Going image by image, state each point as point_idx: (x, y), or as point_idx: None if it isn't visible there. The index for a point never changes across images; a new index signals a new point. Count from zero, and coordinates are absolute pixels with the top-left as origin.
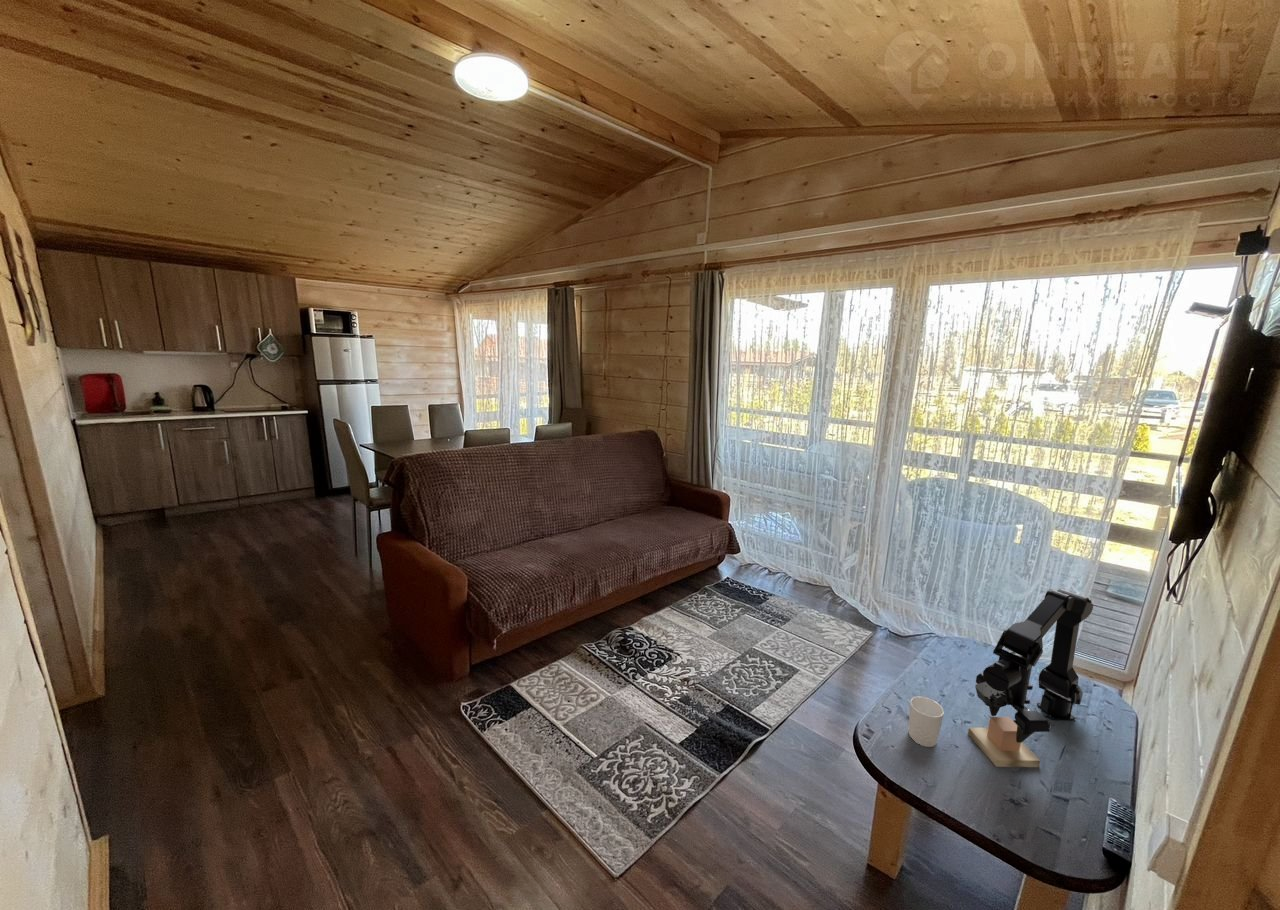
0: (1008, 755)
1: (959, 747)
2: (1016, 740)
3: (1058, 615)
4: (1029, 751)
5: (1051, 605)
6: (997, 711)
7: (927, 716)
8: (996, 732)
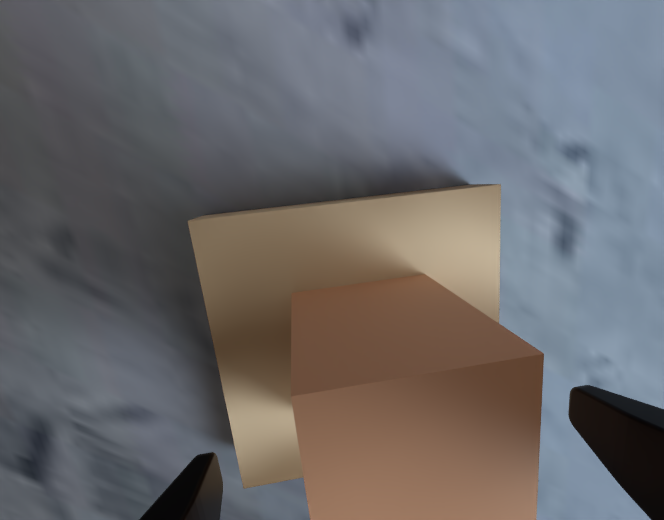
0: (255, 325)
1: (347, 50)
2: (205, 460)
3: None
4: None
5: None
6: (621, 477)
7: None
8: (374, 326)
